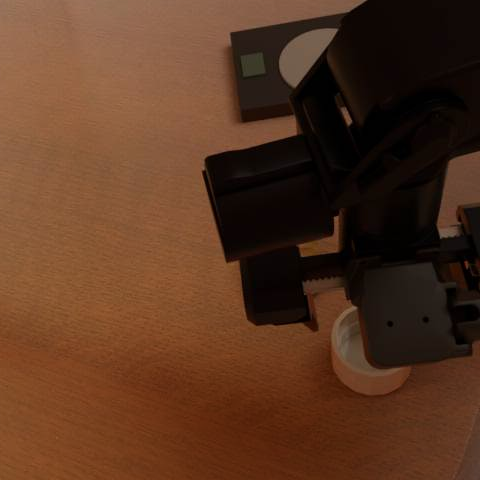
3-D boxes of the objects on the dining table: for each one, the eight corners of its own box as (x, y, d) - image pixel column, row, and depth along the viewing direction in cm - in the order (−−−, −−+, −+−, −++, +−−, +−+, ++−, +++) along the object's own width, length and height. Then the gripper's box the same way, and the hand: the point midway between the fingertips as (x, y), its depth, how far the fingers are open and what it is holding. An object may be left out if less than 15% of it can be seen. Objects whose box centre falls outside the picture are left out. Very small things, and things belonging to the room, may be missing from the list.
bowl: (401, 322, 64) (406, 297, 60) (418, 393, 60) (424, 371, 57) (326, 331, 65) (325, 307, 61) (338, 401, 61) (339, 380, 58)
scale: (357, 23, 84) (358, 6, 82) (379, 101, 78) (380, 85, 76) (231, 45, 86) (229, 29, 84) (242, 122, 80) (239, 107, 78)
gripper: (243, 342, 40) (264, 435, 53) (611, 299, 38) (541, 408, 51) (225, 179, 46) (248, 298, 59) (541, 133, 44) (494, 267, 57)
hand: (376, 318), depth 56 cm, fingers open, 9 cm apart
